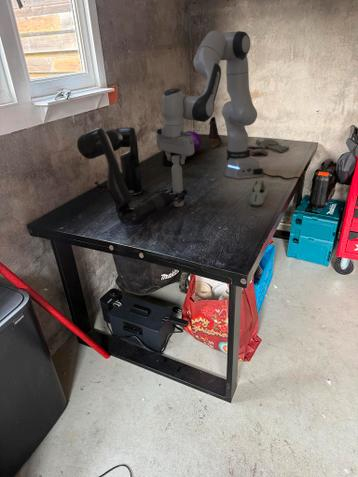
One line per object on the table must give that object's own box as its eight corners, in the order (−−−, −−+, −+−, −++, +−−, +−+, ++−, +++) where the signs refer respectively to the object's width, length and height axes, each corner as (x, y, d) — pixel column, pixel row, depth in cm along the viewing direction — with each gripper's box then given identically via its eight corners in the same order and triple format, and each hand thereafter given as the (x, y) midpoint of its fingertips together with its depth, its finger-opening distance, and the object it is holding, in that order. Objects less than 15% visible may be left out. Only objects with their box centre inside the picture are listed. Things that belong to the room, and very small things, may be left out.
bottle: (185, 204, 157) (183, 157, 146) (177, 207, 155) (174, 160, 144) (180, 201, 161) (177, 155, 149) (171, 204, 159) (168, 157, 147)
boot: (222, 140, 259) (222, 113, 249) (219, 148, 239) (219, 120, 229) (211, 140, 261) (211, 114, 251) (207, 148, 241) (207, 120, 231)
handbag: (173, 167, 207) (170, 126, 195) (161, 165, 212) (158, 125, 199) (189, 158, 222) (188, 119, 209) (178, 157, 226) (176, 119, 214)
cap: (170, 162, 147) (169, 157, 146) (175, 160, 150) (175, 154, 149) (177, 163, 145) (176, 158, 144) (182, 161, 148) (182, 155, 146)
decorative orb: (204, 151, 235) (204, 129, 228) (194, 156, 225) (193, 134, 217) (186, 149, 243) (186, 128, 235) (175, 154, 232) (174, 132, 224)
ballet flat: (269, 188, 169) (270, 173, 165) (265, 208, 149) (266, 191, 145) (252, 187, 171) (253, 172, 167) (246, 206, 151) (247, 190, 147)
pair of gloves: (254, 158, 215) (254, 150, 212) (233, 149, 235) (233, 142, 233) (291, 151, 224) (292, 143, 222) (268, 143, 245) (268, 136, 242)
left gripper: (169, 198, 139) (193, 185, 151) (145, 191, 147) (169, 180, 159) (171, 214, 143) (193, 200, 154) (147, 206, 151) (170, 194, 162)
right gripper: (197, 132, 136) (198, 164, 143) (163, 126, 149) (165, 156, 156) (186, 135, 132) (188, 168, 139) (153, 129, 145) (155, 160, 152)
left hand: (181, 190), depth 156 cm, fingers closed on bottle, 5 cm apart
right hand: (176, 162), depth 148 cm, fingers open, 6 cm apart
